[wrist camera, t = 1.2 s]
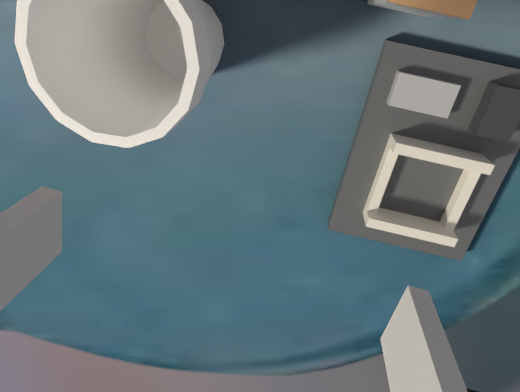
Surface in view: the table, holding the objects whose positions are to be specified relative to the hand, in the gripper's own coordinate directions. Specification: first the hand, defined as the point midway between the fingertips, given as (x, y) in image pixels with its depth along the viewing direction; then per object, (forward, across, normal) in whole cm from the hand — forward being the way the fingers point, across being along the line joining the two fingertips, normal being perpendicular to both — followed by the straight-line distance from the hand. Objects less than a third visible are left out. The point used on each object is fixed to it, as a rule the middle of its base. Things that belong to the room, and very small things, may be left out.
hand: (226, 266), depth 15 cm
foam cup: (+21, -9, +5) cm, 23 cm away
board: (+20, +12, 0) cm, 24 cm away
